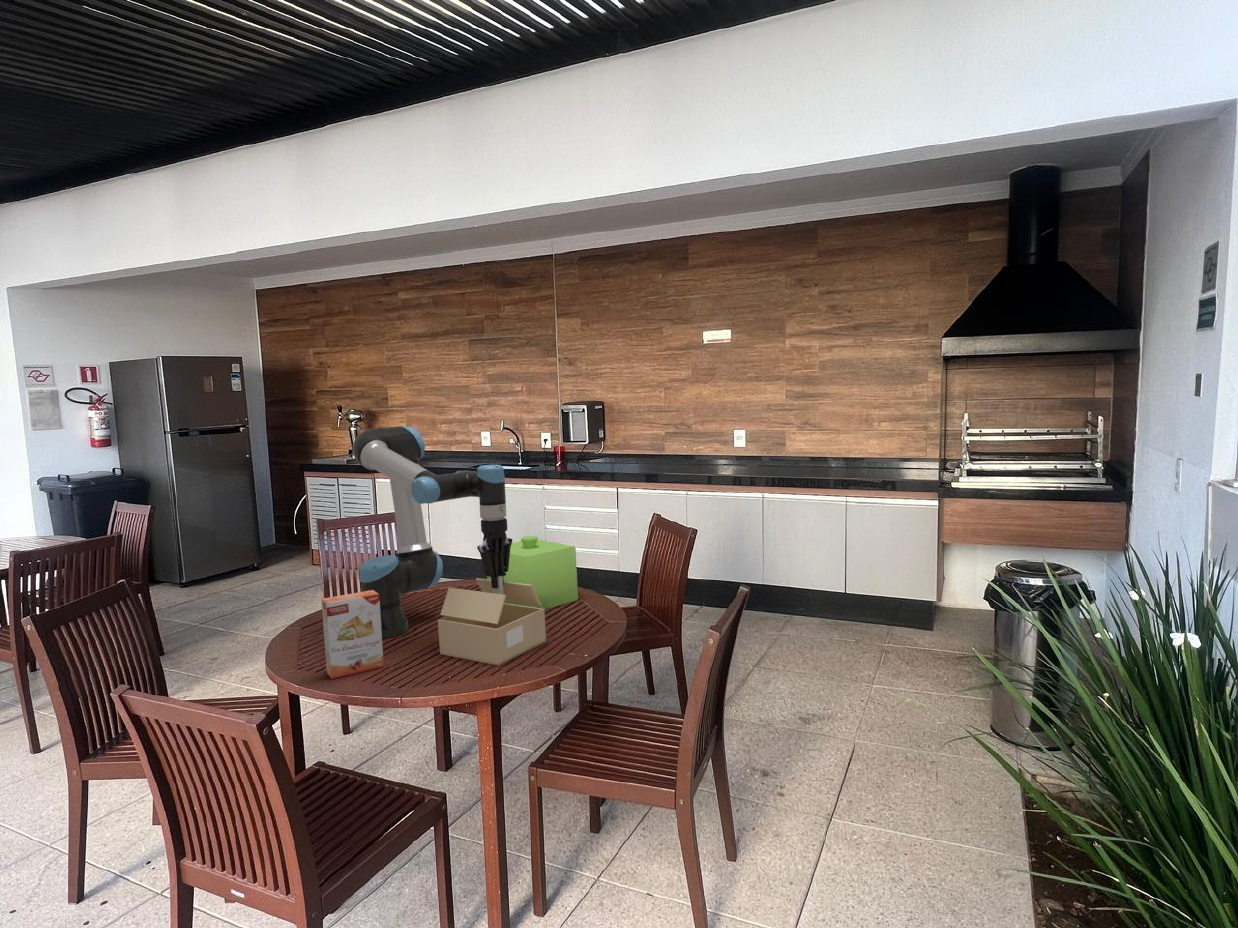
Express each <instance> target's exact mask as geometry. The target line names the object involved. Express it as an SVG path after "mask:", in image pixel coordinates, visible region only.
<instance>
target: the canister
mask: <svg viewBox="0 0 1238 928" xmlns="http://www.w3.org/2000/svg"><path fill="white" fill-rule="evenodd" d="M520 540H521V541H516V542H512V544H511V547H510V558H509V568H508V572H505V573H506V576H503V579H504V580H503V581H505V582H513V583H522V584H530V585H532V586H533V588H534V591H535V593H536V595H537V597H538V599H539V601H540V603H541V606H538V605H531V604H524V603H516V602H509V601H504V603H506V604H513V605H520V606H527V607H535V608H542V609H544V610H548V609H551V608H554V607H558V606H561V605H565V604H569V603H572V602H576V601H579V593H578V591H579V590H578V587H579V586H578V572H577V570H578V569H577V567H578V566H577V552H576V550H577V549H576V547H575V546H574V545H568V544H564V543H560V542H559V543H557V542H554V541H553V542H552V541H548V540H543V539H539V537H538V536H536V535H526V536H523V537H521V538H520ZM504 568H505V567H504ZM486 579H489V580H491V577H488V576H486Z"/></svg>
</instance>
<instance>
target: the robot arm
mask: <svg viewBox="0 0 1238 928" xmlns="http://www.w3.org/2000/svg"><path fill="white" fill-rule="evenodd" d="M425 449H426V448H425V442H424V439H423V437H422V435H421V433H420V432H419V431H418V430H417V429H416V428H415V427H412V426H402V425H400V426H389V427H378V428H374V427H373V428H368V429H365V430H363V431H361V432H360V433H359V434H358V435H357V436H356V438H355V439H354V441H353V443H352V455H353V457H354V459H355V461H356V462H357V463H358V464H359V465H360V466H361V467H364V468H365V469H367V470H371V471H374V470H375V471H376V472H378V473H380V474H382V475H384V476H385V477H387V478H389V482H390V483H389V484H390V489H391V496H392V502H393V509H394V516H395V522H396V528H397V536H398V543H399V547H398V549H397V550H396V551H395V555H394V554H393V555H392V554H391V555H389V554H388V555H387V554H386V555H383V556H377V557H373V558H371V559H368V560H365V561H364V562H363V563H362V564H361V566H359V568H360V569H359V581H360V582H359V583H360V592H364V591H369V590H374V591H375V592H377V593H378V594H379V600H380V615H381V631H382V640H383V639H389V638H394V637H396V636H399V635H403V634H404V633H406V632H408V630H409V620H408V619H407V616H406V614H405V611H404V609H403V605H402V600H401V598H402V597H401V595H405V594H409V593H413V592H416V591H417V592H418V591H421V590H426V589H429V588H431V587H434V586H436V585H437V584H438V583H439V582H440V579H441V578H442V576H443V571H444V570H443V569H444V568H443V567H444V565H443V560H442V558H441V557H440V554H439V552H437V551H434V549H433V546H432V544H430V543H429V542H428V541H427V536H426V529H425V522H424V515H423V509H422V505H424V504H434V503H438V502H444V501H445V502H446V501H450V500H457V499H462V498H468V497H471V498H479V501H478V502H479V517H480V519H481V520H480V530H481V531H480V532H481V533H482V534H483V538H482V543H481V545H478V546H477V547H476V548H477V551H478V552H479V554H480V559H481V562H482V563H481V564H482V566H483V570H484V576H485V577H487V576H488V577H491V584H492V588H493V593H494V594H502V595H504V594H503V586H504V581H503V580H504V579H503V576H506V573H505V572H508V568H509V558H510V547H511V544H512V543H513V538H511V537H508V536H507V533H506V532H507V531H508V519H507V518H506V517H507V505H506V503H507V502H506V501H507V499H506V497H507V496H506V477H505V472H504V467H503V466H502V465H501V464H484V465H480V466H477V471H476V470H473V471H472V470H467V469H465V470H457V471H456V472H453V473H445V474H435V473H434V472H431V471H430V470H428V469H426V468H424V467H422V466H420V460H421V459H422V458H423V457H424V455H425V454H424V452H425V451H426V450H425ZM504 567H505V568H504Z"/></svg>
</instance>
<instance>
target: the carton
mask: <svg viewBox="0 0 1238 928" xmlns="http://www.w3.org/2000/svg"><path fill="white" fill-rule="evenodd" d="M545 615H546V614H545V609H542V608H535V607H527V606H520V605H513V604H506V603H504V605H503V608H502V612H501V616H500V619H499V623H498V624H493V623H487V622H481V621H475V620H469V619H462V618H456V617H450V616H444V617H441V618H439V619H437V626H438V627H437V630H438V642H439V654H440V655H443V656H449V657H453V658H459V659H462V660H463V659H464V660H468V661H473V662H479V663H483V664H488V665H494V666H498V667H499V666H501V665H504V664H505V663H508V662H509V661H511V660H513V659H516V658H518V657H519V656H522V655H523V654H526V653H527V652H529V651H531V650H533V649H535V648H537V647H540V646H541V645H543V644H545V643H547V635H546V632H547V631H546V621H545V620H546V616H545Z"/></svg>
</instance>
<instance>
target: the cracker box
mask: <svg viewBox="0 0 1238 928" xmlns="http://www.w3.org/2000/svg"><path fill="white" fill-rule="evenodd" d="M321 608H322V625H323V639H324V640H323V641H324V653H325V665H326V666H325V667H326V674H327V675H328V676H329V678H330V679H332V680H333V679H337V678H342V677H345V676H350V675H353V674H359V673H363V672H368V671H372V670H376V669H379V668H384V649H383V648H384V647H383V639H382V631H381V615H380V600H379V594H378V593H377V592H375V591H374V590H369V591H364V592H361V591H360V592H353V593H347V594H342V595H335V596H328V597H325V598H321Z"/></svg>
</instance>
